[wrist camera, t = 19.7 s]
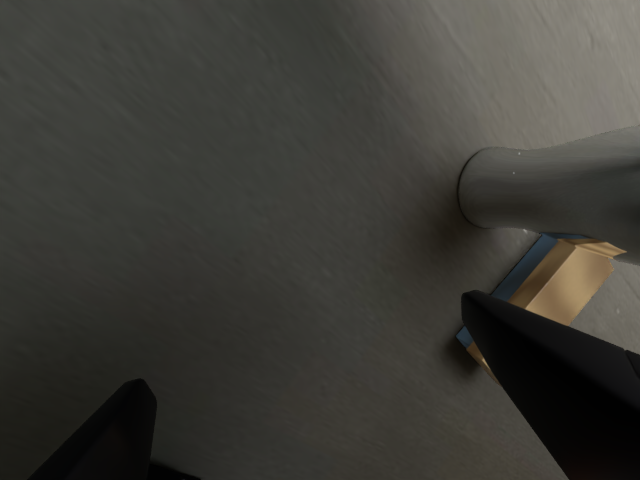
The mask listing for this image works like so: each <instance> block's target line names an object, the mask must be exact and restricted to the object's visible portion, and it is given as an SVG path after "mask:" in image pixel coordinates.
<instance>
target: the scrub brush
mask: <svg viewBox="0 0 640 480" xmlns="http://www.w3.org/2000/svg"><path fill="white" fill-rule="evenodd" d="M613 270H614V269H613V267H612V265H611V263H610V261H609V259H608V258H607V257H604V256H601V255H598V254H594V253H591V252H589V251H586V250H583V249H580V248H577V247H575V246H572V245H569V244H566V243H564V242H561V241H558V240H556V239H553V238H550V237H548V236H545V235H542V236H541V237H540V239H539V240H538V241H537V242H536V243H535V244H534V246H533V247H532V248H531V249H530V250H529V251H528V253H527V254H526V255H525V256H524V257H523V258H522V260H521V261H520V262H519V263H518V264H517V265H516V267H515V268H514V269H513V270H512V271H511V272H510V274H509V275H508V276H507V277H506V278H505V279H504V280H503V282H502V283H501V284H500V285H499V286H498V287H497V289H496V290H495V291H494V292H493V293H492V294H491V296H494V297H496V298H499V299H501V300H504V301H506V302H509V303H511V304H514V305H516V306H519V307H521V308H524V309H526V310H529V311H531V312H534V313H536V314H539V315H541V316H544V317H546V318H549V319H551V320H554V321H556V322H559V323H561V324H564V325H566V326H568V325H569V324H570V323H571V322H572V320H573V319H574V318H575V317H576V316H577V314H578V313H579V312H580V311H581V309H582V308H583V307H584V306H585V305H586V303H587V302H588V301H589V300H590V298H591V297H592V296H593V295H594V294H595V292H596V291H597V290H598V289H599V287H600V286H601V285H602V284H603V283H604V281H605V280H606V279H607V278H608V276H609V275H610V274H611V273H612V272H613ZM456 337H457V339H458V340H459V341H460V342H461V343H462V344H463V345H464V346H465V347H466V350H467V352H468V353H469V354H470V355H471V356H472V357H473V358H474V359H475V360H476V361H477V363H478V364H479V365H480V366H481V367H482V368H483V369H484V370H485V371H486V372H487V374H488V375H489V376H490V377H491V378H492V379H493V380H494V381H495V382H496V383H497V384H498V385H500V383H499V382H498V380H497V379H496V377H495V376H494V375H493V373H492V372H491V370H490V368H489V367H488V365H487V363H486V362H485V360H484V358H483V356H482V355H481V353H480V351H479V349H478V348H477V346H476V344H475V342H474V341H473V339H472V337H471V335H470V334H469V332H468V330H467V328H466V327H465V326H464V327H463V328H462V329H461V331H460V332H459V333H458V334H457V335H456ZM500 386H501V385H500ZM501 387H502V386H501Z"/></svg>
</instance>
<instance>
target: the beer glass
mask: <svg viewBox="0 0 640 480" xmlns="http://www.w3.org/2000/svg"><path fill="white" fill-rule="evenodd" d="M458 196H459V203H460V207H461V210H462V212H463V214H464V215H465V217H466V218H467V219H468V220H469V221H470V222H471V223H472V224H474V225H476V226H478V227H481V228H488V229H496V228H517V229H524V230H529V231H533V232H536V233H539V234H542V235H545V236H548V237H550V238H553V239H556V240H558V241H561V242H564V243H566V244H569V245H572V246H575V247H577V248H580V249H583V250H586V251H589V252H591V253H594V254H598V255H601V256H604V257H607V258H610V259H614V260H617V261H620V262H624V263H628V264H632V265H637V266H640V125H635V126H631V127H626V128H622V129H617V130H613V131H609V132H605V133H601V134H597V135H594V136H590V137H586V138H582V139H578V140H575V141H571V142H567V143H564V144H560V145H555V146H551V147H547V148H540V149H529V150H525V149H515V148H507V147H490V148H486V149H484V150H482V151H480V152H478V153H477V154H476V155H474V156H473V157H472V158H471V159H470V161H469V162H468V163H467V165H466V166H465V168H464V170H463V172H462V175H461V178H460V182H459V190H458Z"/></svg>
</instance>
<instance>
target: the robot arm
mask: <svg viewBox="0 0 640 480" xmlns="http://www.w3.org/2000/svg"><path fill="white" fill-rule="evenodd" d="M461 309H462V320H463V323H464V325H465V327H466V328H467V330H468V332H469V334H470V335H471V337H472V339H473V341H474V342H475V344H476V346H477V348H478V349H479V351H480V353H481V355H482V356H483V358H484V360H485V362H486V363H487V365H488V367H489V368H490V370H491V372H492V373H493V375H494V376H495V377H496V379H497V380H498V382H499V383H500V385H501V386H502V387H503V389H504V390H505V391H506V393H507V394H508V396H509V397H510V398H511V400H512V401H513V403H514V404H515V405H516V407H517V408H518V409H519V411H520V412H521V414H522V415H523V416H524V418H525V419H526V421H527V422H528V423H529V425H530V426H531V427H532V429H533V430H534V432H535V433H536V434H537V436H538V437H539V439H540V440H541V441H542V443H543V444H544V445H545V447H546V448H547V450H548V451H549V452H550V454H551V455H552V456H553V458H554V459H555V461H556V462H557V463H558V465H559V466H560V468H561V469H562V470H563V472H564V473H565V474H566V476H567V477H568V479H569V480H640V355H639V354H636V353H634V352H631V351H629V350H625V351H624V349H623V348H621V347H618V346H616V345H614V344H611V343H609V342H606V341H604V340H601V339H599V338H596V337H594V336H591V335H589V334H586V333H584V332H581V331H579V330H576V329H574V328H571V327H569V326H566V325H564V324H561V323H559V322H556V321H554V320H551V319H549V318H546V317H544V316H541V315H539V314H536V313H534V312H531V311H529V310H526V309H524V308H521V307H519V306H516V305H514V304H511V303H509V302H506V301H504V300H501V299H499V298H496V297H494V296H491V295H489V294H486V293H484V292H481V291H478V290H473V291H470V292H466V293H463V294H462V297H461ZM156 410H157V400H156V397H155V396H154V394H153V393H152V391H151V389H150V388H149V386H148V385H147V383H146V382H145V381H144V380H143V379H141V378H138V379H135V380H131V381H127V382H125V383H124V384H123V385H122V386H121V387H120V388H119V389H118V390H117V391H116V392H115V393H114V394H113V395H112V396H111V397H110V398H109V399H108V400H107V401H106V402H105V403H104V404H103V405H102V406H101V407H100V408H99V409H98V410H97V411H96V412H95V413H94V414H93V415H92V416H91V417H90V418H89V419H88V420H87V421H86V422H85V423H84V424H83V425H82V426H81V427H80V428H79V429H78V430H77V431H76V432H75V433H74V434H73V435H72V436H71V437H70V438H69V439H68V440H67V441H65V442H64V443H63V444H62V445H61V446H60V447H59V448H58V449H57V450H56V451H55V452H54V453H53V454H52V455H51V456H50V457H49V458H48V459H47V460H46V461H45V462H44V463H43V464H42V465H41V466H40V467H39V468H38V469H37V470H36V471H35V472H34V473H33V474H32V475H31V476H30V477H29V478H28V479H27V480H200V479H198V478H194V477H191V476H188V475H184V474H181V473H178V472H174V471H171V470H168V469H164V468H161V467H158V466H154V465H151V464H149V462H150V456H151V448H152V441H153V433H154V425H155V418H156Z"/></svg>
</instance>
